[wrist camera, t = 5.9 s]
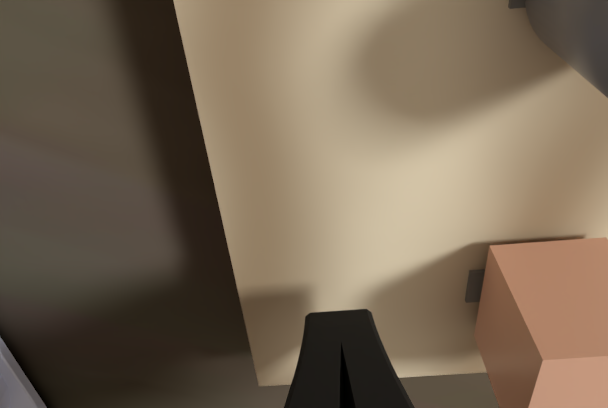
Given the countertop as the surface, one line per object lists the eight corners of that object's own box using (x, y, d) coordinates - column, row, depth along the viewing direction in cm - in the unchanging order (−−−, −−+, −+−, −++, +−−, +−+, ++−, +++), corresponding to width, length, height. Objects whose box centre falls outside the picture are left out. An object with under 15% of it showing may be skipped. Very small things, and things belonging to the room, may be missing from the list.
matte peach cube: (473, 335, 13) (515, 451, 11) (489, 245, 11) (543, 360, 9) (574, 329, 13) (638, 444, 11) (605, 237, 11) (692, 350, 9)
